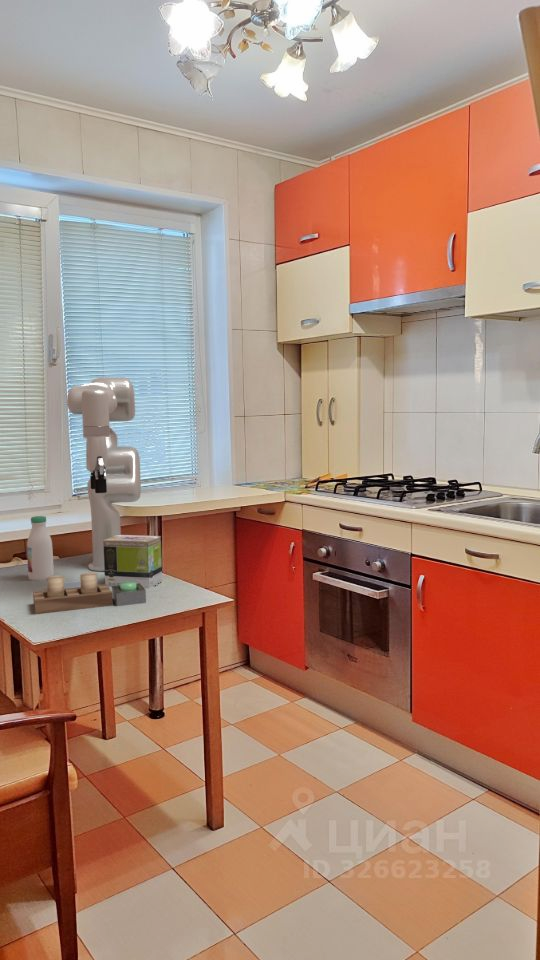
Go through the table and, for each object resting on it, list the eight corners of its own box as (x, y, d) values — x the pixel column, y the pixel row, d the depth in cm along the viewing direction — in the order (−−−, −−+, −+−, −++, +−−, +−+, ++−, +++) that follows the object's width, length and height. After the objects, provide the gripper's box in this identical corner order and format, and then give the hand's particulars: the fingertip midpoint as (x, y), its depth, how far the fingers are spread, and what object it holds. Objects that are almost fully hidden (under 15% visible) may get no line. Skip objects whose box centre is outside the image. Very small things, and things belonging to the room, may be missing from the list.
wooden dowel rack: (33, 605, 194) (33, 591, 193) (107, 597, 201) (106, 584, 201) (35, 615, 185) (35, 601, 184) (112, 607, 192) (112, 592, 191)
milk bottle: (57, 575, 227) (55, 514, 225) (47, 581, 220) (45, 518, 218) (34, 575, 228) (31, 514, 226) (24, 581, 221) (21, 518, 218)
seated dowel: (80, 601, 196) (79, 573, 195) (96, 599, 197) (95, 572, 196) (82, 605, 192) (81, 577, 191) (98, 604, 193) (97, 575, 192)
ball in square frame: (112, 600, 199) (111, 586, 198) (140, 596, 202) (139, 583, 201) (116, 607, 191) (116, 593, 191) (146, 604, 194) (145, 590, 194)
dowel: (46, 604, 192) (46, 576, 191) (63, 603, 194) (62, 575, 193) (48, 609, 188) (48, 580, 188) (65, 607, 190) (65, 578, 189)
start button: (119, 593, 198) (119, 582, 197) (135, 591, 199) (134, 581, 199) (122, 597, 193) (121, 586, 193) (138, 595, 195) (137, 584, 195)
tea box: (163, 581, 219) (161, 535, 217) (149, 590, 209) (147, 541, 207) (119, 579, 223) (118, 533, 221) (103, 587, 213) (102, 539, 212)
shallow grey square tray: (46, 591, 209) (46, 584, 209) (91, 586, 214) (91, 580, 213) (50, 602, 197) (49, 595, 197) (97, 597, 202) (97, 590, 201)
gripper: (79, 431, 210) (82, 488, 212) (86, 434, 194) (89, 495, 196) (105, 430, 212) (107, 486, 214) (114, 433, 196) (116, 493, 198)
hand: (98, 490), depth 205 cm, fingers open, 9 cm apart
